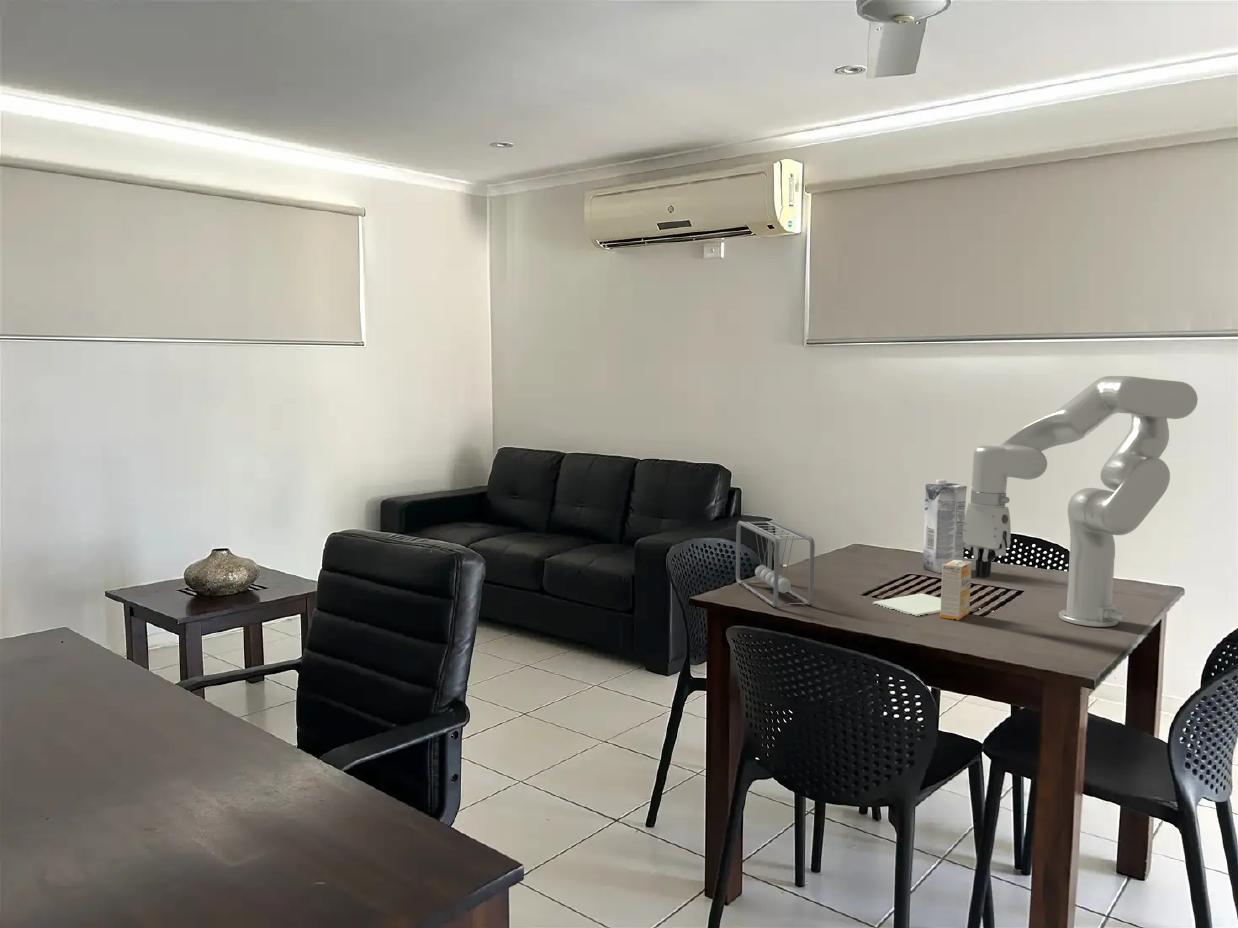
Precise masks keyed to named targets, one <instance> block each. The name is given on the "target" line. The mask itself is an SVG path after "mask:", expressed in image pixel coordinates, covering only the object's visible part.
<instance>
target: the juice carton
mask: <svg viewBox="0 0 1238 928" xmlns="http://www.w3.org/2000/svg"><path fill="white" fill-rule="evenodd" d="M935 482H936V484H934V483H933V484H932V483H928V484H925V499H924V500H925V501H924V521H923V522H924V525H923V527H924V528H923V549H922V550H923V551H922V557H923V558H922V561H923V562H922V566H923V569H924V570H927V571H931V572H934V573H937V574H942V565H943V564H945V563H947V562H950V561H952V560H961V561H964V549H965V548H964V543H965V542H964V541H963V527H964V520H965V515H966V506H967V505H966V501H967V489H968V486H967V485H962V484H958V483H951V482H947V479H936V481H935Z"/></svg>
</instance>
